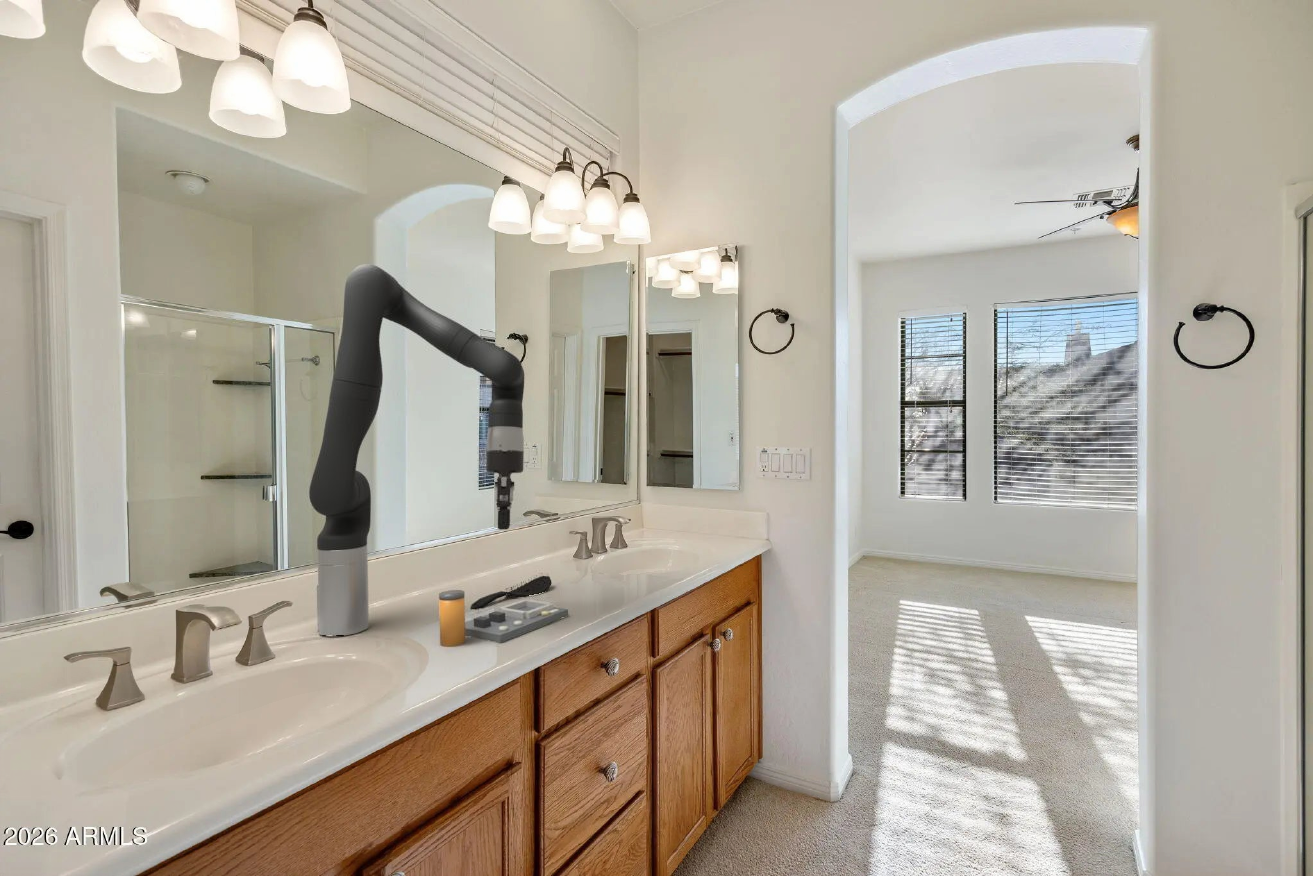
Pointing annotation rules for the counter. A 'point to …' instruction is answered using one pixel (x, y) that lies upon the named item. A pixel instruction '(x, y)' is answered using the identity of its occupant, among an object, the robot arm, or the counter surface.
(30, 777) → the counter surface
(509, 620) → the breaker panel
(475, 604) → the hairbrush
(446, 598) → the orange lidded container
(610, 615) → the counter surface
